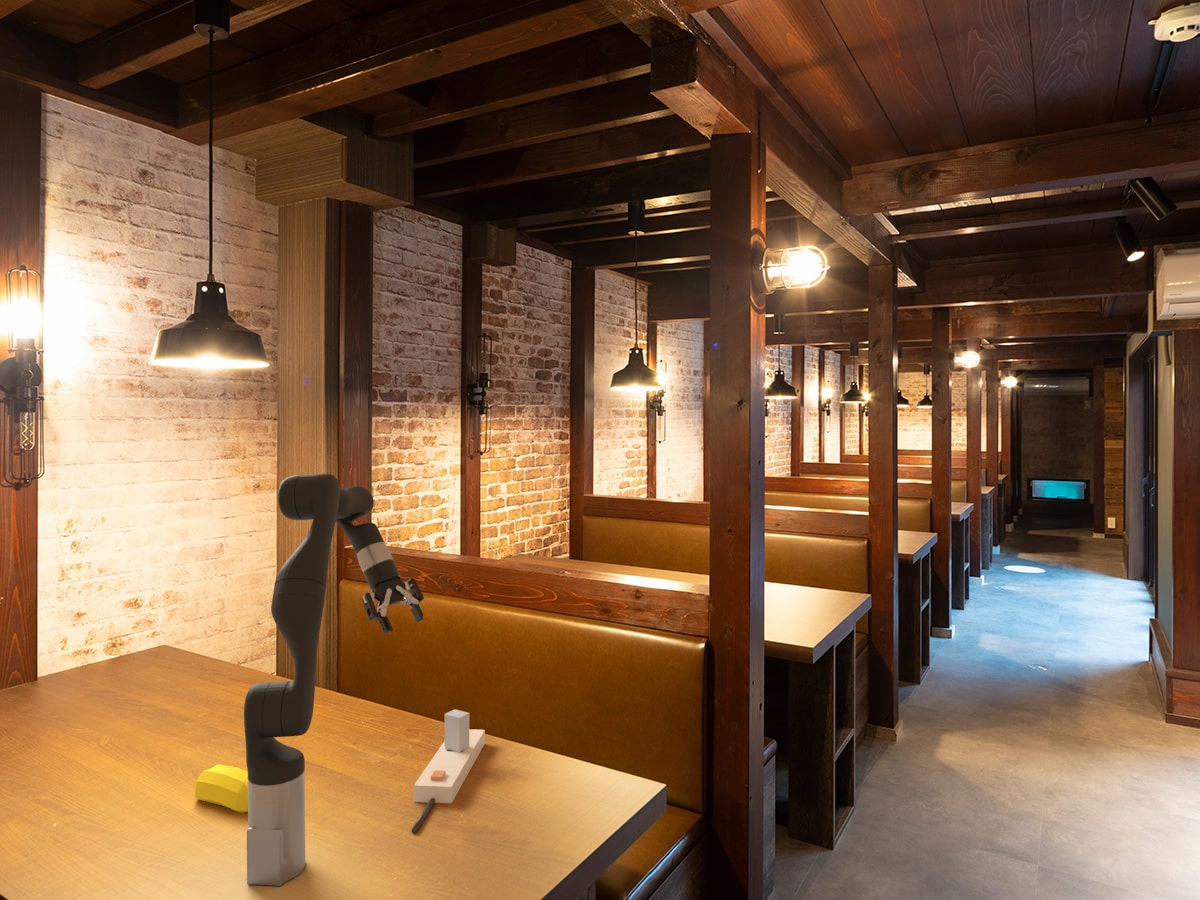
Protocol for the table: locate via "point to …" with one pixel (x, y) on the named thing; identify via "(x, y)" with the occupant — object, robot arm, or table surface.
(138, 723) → the table surface
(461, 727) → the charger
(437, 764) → the power strip
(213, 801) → the yellow banana
